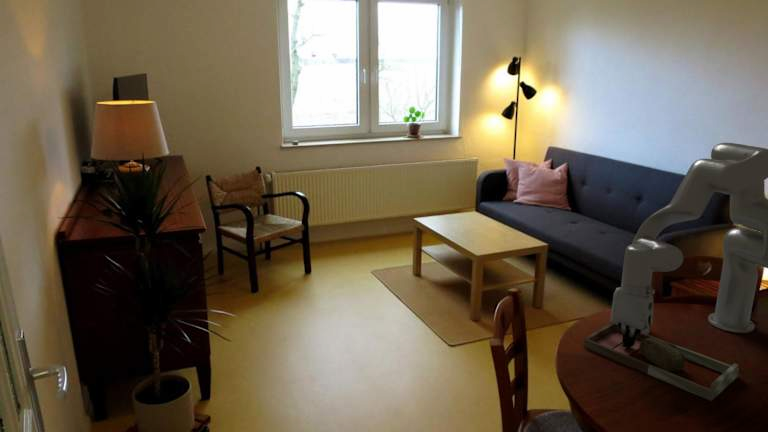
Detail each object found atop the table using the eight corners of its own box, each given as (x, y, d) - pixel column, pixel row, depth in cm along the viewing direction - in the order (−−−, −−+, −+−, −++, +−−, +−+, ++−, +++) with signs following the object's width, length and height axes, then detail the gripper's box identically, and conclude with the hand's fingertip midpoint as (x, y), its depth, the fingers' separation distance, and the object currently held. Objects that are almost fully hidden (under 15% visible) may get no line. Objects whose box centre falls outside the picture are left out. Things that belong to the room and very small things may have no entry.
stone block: (667, 375, 150) (670, 357, 149) (636, 353, 161) (638, 337, 160) (685, 371, 152) (687, 354, 151) (652, 350, 163) (655, 334, 162)
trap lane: (612, 329, 175) (613, 317, 174) (737, 376, 149) (740, 363, 148) (582, 346, 165) (583, 334, 164) (711, 401, 139) (713, 386, 137)
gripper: (668, 292, 155) (659, 352, 160) (617, 276, 166) (610, 332, 171) (655, 300, 150) (646, 360, 155) (603, 283, 161) (597, 340, 166)
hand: (627, 346), depth 163 cm, fingers closed
